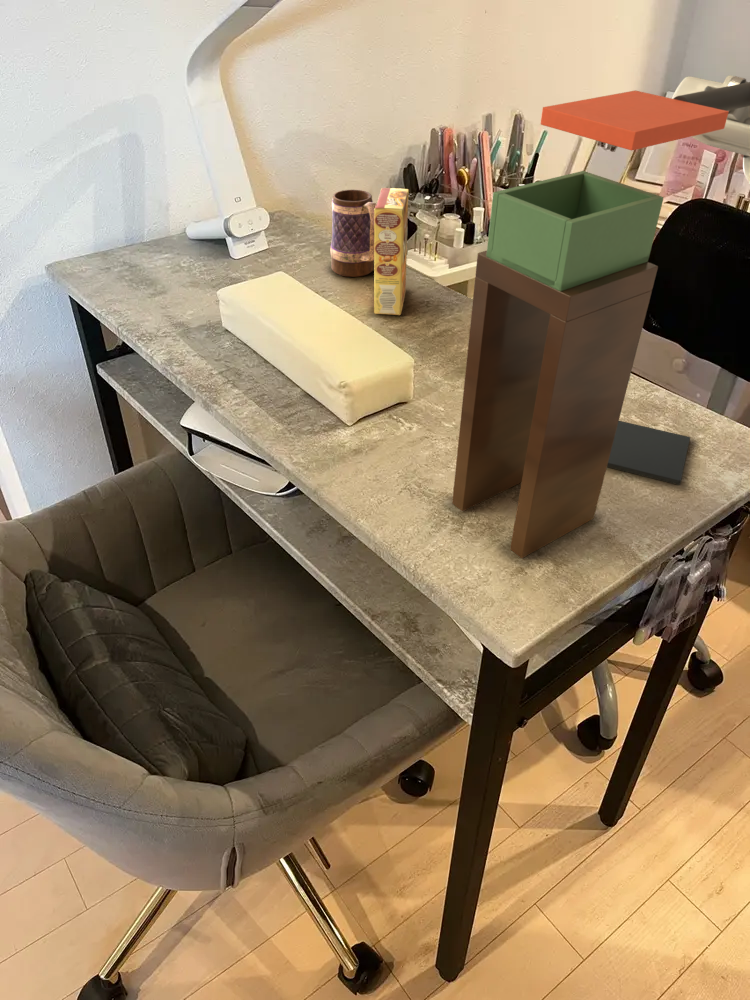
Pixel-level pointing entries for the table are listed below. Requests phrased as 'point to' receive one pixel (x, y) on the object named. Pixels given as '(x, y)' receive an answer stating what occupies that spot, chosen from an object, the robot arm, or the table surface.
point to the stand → (546, 393)
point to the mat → (649, 452)
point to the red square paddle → (646, 116)
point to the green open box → (572, 228)
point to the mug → (352, 233)
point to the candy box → (390, 250)
